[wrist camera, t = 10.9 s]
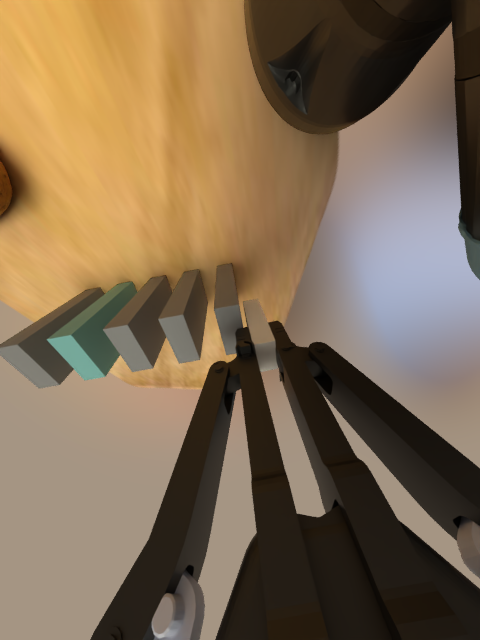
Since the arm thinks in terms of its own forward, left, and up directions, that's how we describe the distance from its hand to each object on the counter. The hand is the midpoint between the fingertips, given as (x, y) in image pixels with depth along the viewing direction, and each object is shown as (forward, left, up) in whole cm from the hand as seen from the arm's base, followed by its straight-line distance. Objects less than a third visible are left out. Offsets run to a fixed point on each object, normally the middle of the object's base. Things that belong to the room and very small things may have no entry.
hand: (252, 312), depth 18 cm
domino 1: (+11, 0, -9) cm, 14 cm away
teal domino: (+16, 0, -9) cm, 18 cm away
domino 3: (+2, 0, -9) cm, 9 cm away
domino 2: (+7, 0, -9) cm, 11 cm away
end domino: (+20, 0, -9) cm, 22 cm away
